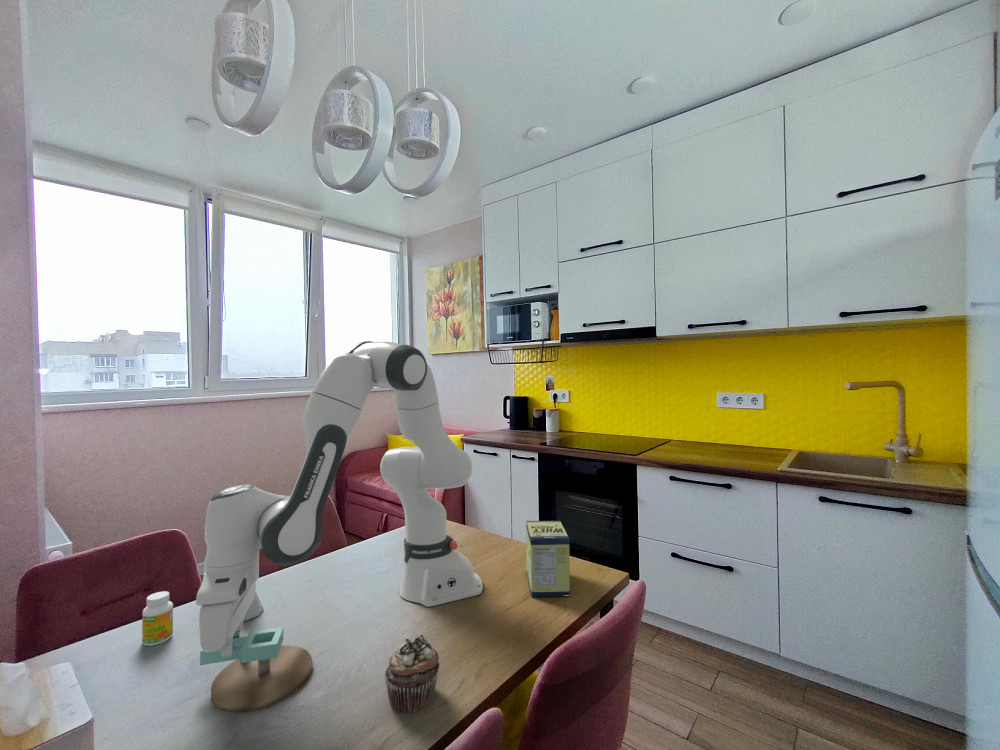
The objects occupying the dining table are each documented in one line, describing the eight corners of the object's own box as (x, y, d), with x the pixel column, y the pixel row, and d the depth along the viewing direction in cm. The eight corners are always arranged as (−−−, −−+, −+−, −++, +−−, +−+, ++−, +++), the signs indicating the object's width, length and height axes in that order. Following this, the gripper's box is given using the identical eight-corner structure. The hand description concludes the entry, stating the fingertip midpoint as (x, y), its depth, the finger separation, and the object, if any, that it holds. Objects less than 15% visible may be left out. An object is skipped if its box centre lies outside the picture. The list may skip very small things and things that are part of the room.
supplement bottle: (138, 649, 93) (139, 603, 93) (145, 636, 98) (145, 593, 98) (170, 642, 96) (170, 597, 96) (175, 630, 100) (175, 587, 101)
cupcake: (421, 671, 85) (421, 620, 86) (449, 698, 78) (449, 642, 78) (375, 695, 79) (375, 639, 79) (401, 726, 72) (401, 665, 72)
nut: (283, 639, 87) (283, 627, 87) (276, 657, 81) (277, 643, 81) (208, 651, 83) (209, 637, 84) (196, 670, 78) (197, 656, 78)
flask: (247, 624, 103) (247, 581, 103) (221, 621, 104) (221, 579, 104) (269, 608, 110) (269, 568, 110) (244, 606, 111) (245, 566, 111)
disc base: (317, 645, 94) (317, 616, 94) (304, 700, 78) (305, 665, 78) (228, 659, 90) (228, 629, 90) (195, 721, 73) (195, 683, 73)
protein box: (560, 571, 130) (560, 519, 130) (570, 597, 115) (570, 538, 115) (525, 572, 130) (525, 520, 130) (531, 598, 114) (530, 538, 115)
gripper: (230, 554, 91) (229, 621, 91) (191, 600, 72) (190, 686, 71) (264, 551, 93) (263, 616, 93) (234, 595, 74) (234, 678, 73)
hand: (231, 647), depth 82 cm, fingers closed on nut, 3 cm apart
